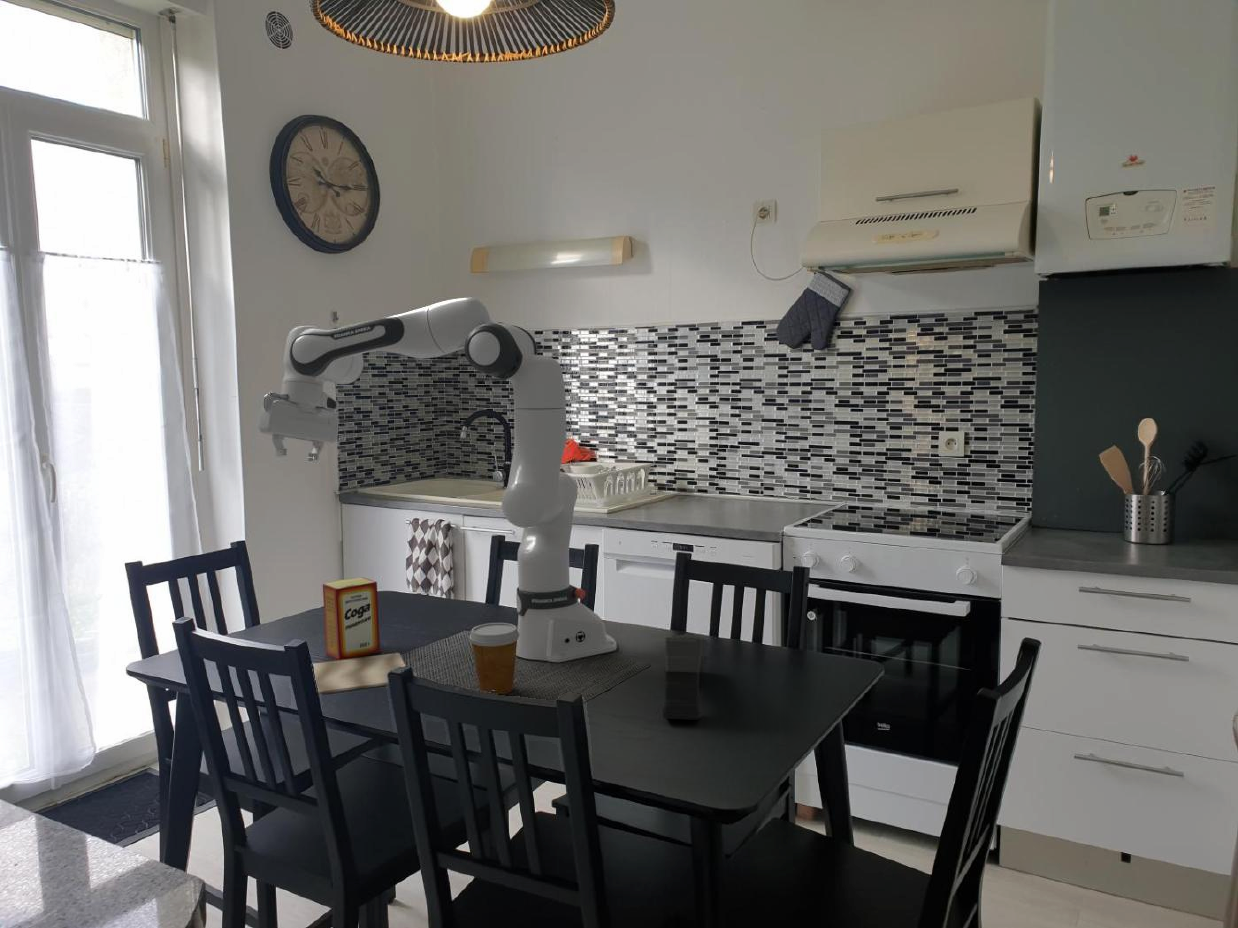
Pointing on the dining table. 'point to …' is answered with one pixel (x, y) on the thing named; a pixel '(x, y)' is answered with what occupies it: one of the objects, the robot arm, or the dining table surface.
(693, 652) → the dark grey upright block
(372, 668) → the oak board
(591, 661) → the dining table surface
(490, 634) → the disposable coffee cup
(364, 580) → the baking soda box
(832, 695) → the dining table surface
